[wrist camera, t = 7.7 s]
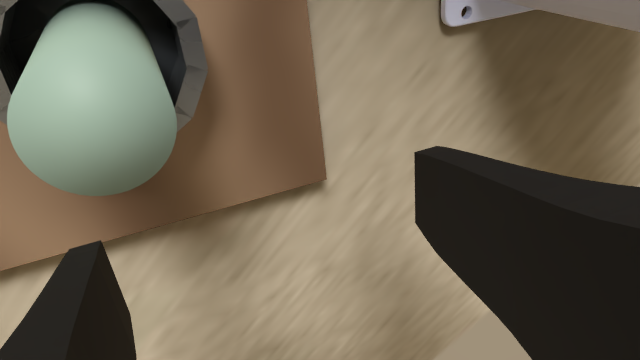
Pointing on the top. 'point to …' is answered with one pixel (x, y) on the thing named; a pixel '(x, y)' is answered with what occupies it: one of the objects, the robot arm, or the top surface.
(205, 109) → the cup bracket
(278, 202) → the top surface
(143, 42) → the peg
